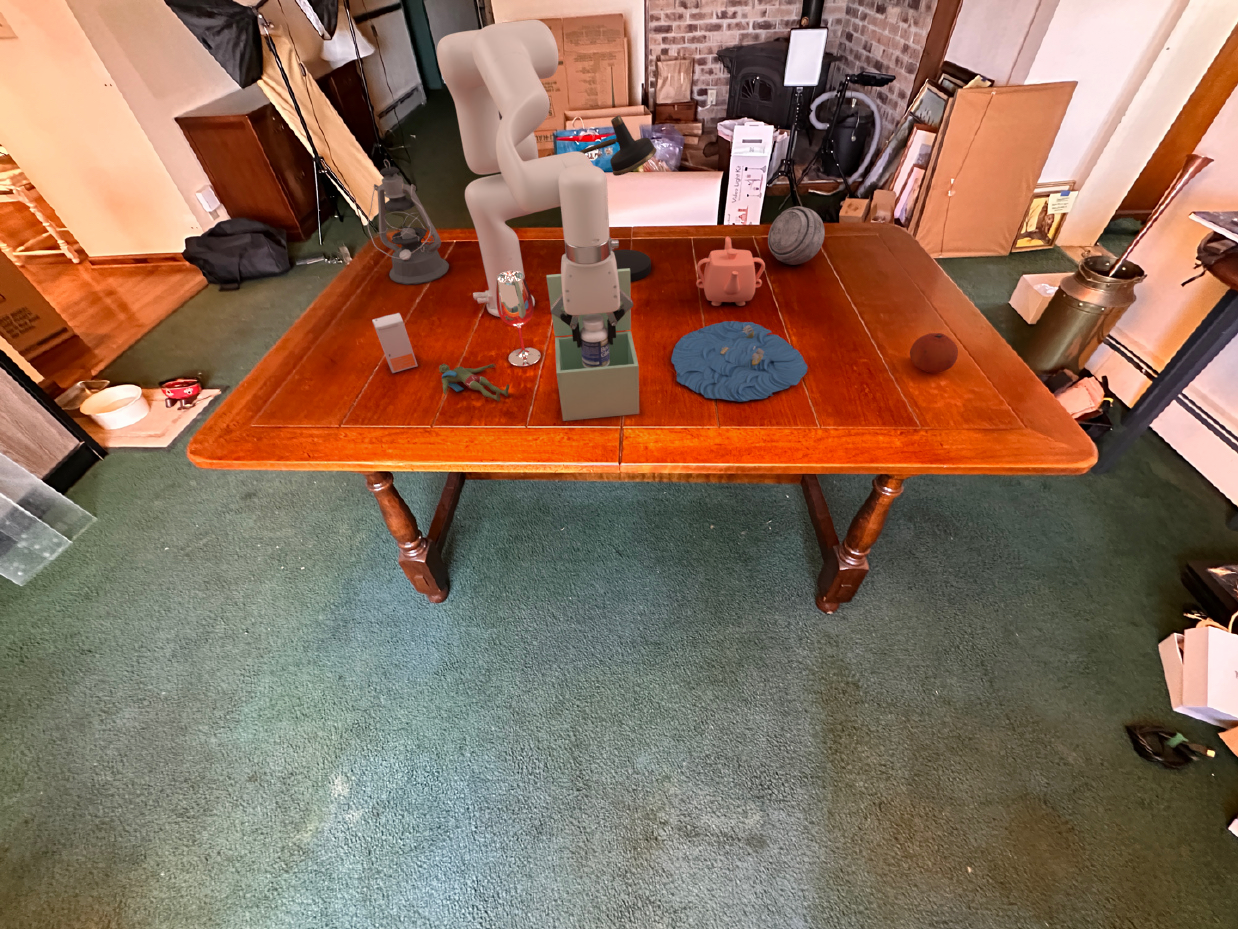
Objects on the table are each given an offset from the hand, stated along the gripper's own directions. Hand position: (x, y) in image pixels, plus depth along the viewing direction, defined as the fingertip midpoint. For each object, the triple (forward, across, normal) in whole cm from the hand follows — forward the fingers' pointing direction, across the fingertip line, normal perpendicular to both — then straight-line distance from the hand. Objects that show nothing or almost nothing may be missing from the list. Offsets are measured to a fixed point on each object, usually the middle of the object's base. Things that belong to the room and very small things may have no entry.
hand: (594, 341), depth 106 cm
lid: (-4, 0, -7) cm, 8 cm away
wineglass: (+15, +16, -20) cm, 30 cm away
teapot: (+15, -37, -40) cm, 57 cm away
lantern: (+16, +48, -69) cm, 85 cm away
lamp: (+15, -10, -61) cm, 64 cm away
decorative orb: (+15, -60, -57) cm, 84 cm away
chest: (+15, 0, -2) cm, 15 cm away
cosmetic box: (+15, +44, -21) cm, 51 cm away
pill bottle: (+5, 0, 0) cm, 5 cm away
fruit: (+15, -72, -2) cm, 74 cm away
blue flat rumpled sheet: (+15, -32, -10) cm, 37 cm away
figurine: (+15, +27, -10) cm, 33 cm away
